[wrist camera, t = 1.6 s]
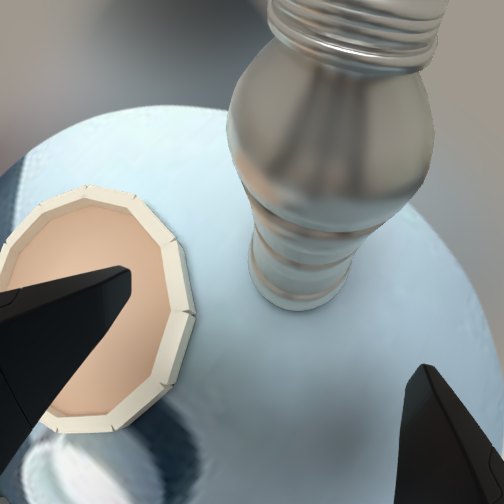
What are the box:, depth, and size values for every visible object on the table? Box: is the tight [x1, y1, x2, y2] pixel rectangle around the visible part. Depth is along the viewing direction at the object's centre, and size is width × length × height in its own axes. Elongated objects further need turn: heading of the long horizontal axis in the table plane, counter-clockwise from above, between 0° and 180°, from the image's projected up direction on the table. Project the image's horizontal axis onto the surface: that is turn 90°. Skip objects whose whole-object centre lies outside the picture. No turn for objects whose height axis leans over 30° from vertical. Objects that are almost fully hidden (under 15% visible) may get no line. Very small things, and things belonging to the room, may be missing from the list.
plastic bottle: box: [226, 0, 449, 311], centre depth 13 cm, size 6×7×20 cm
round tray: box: [0, 185, 196, 433], centre depth 21 cm, size 19×19×2 cm
